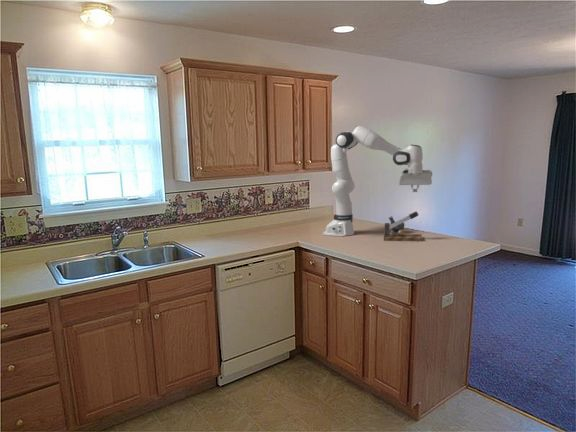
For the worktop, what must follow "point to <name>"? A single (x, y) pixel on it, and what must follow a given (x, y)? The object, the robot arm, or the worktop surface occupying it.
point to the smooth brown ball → (401, 232)
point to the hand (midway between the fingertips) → (414, 191)
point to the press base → (400, 238)
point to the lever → (404, 219)
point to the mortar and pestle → (396, 228)
